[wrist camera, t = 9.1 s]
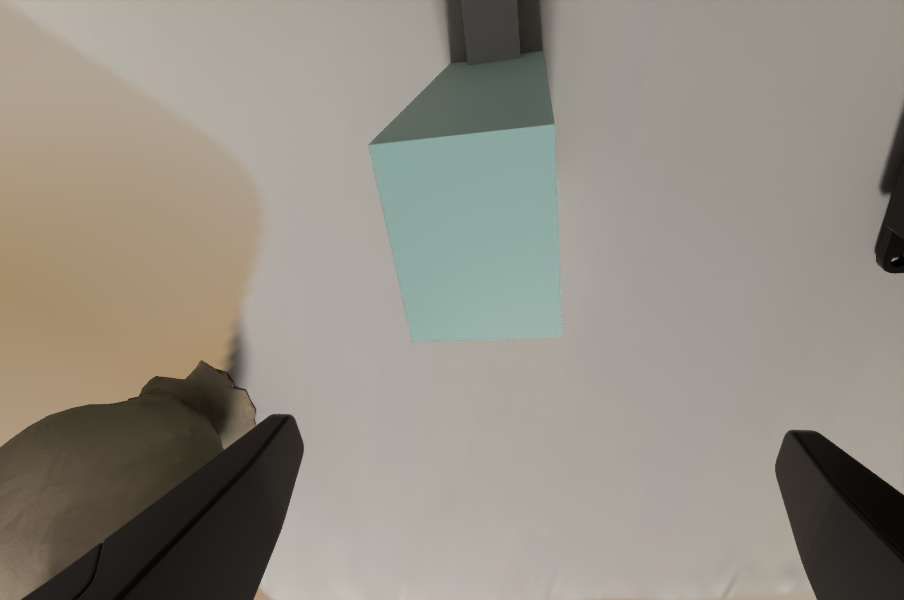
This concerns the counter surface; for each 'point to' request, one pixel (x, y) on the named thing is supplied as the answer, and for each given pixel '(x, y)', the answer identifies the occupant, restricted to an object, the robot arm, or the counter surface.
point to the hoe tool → (476, 191)
